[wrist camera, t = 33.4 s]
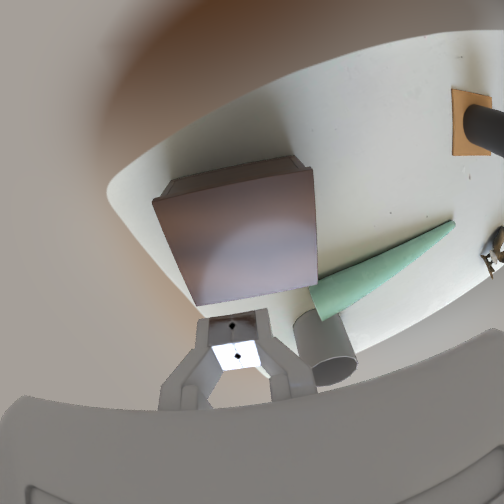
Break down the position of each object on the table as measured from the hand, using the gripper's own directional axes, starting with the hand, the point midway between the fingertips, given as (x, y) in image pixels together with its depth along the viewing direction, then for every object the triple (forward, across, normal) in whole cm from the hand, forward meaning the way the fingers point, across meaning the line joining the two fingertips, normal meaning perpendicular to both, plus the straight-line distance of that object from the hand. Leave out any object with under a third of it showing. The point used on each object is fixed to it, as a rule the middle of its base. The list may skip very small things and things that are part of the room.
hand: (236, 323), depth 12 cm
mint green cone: (+23, -21, +16) cm, 35 cm away
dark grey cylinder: (+22, -37, -4) cm, 43 cm away
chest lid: (+16, 0, +6) cm, 17 cm away
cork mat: (+22, -36, -4) cm, 43 cm away
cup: (+22, -8, +28) cm, 37 cm away
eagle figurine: (+22, -48, +20) cm, 57 cm away
